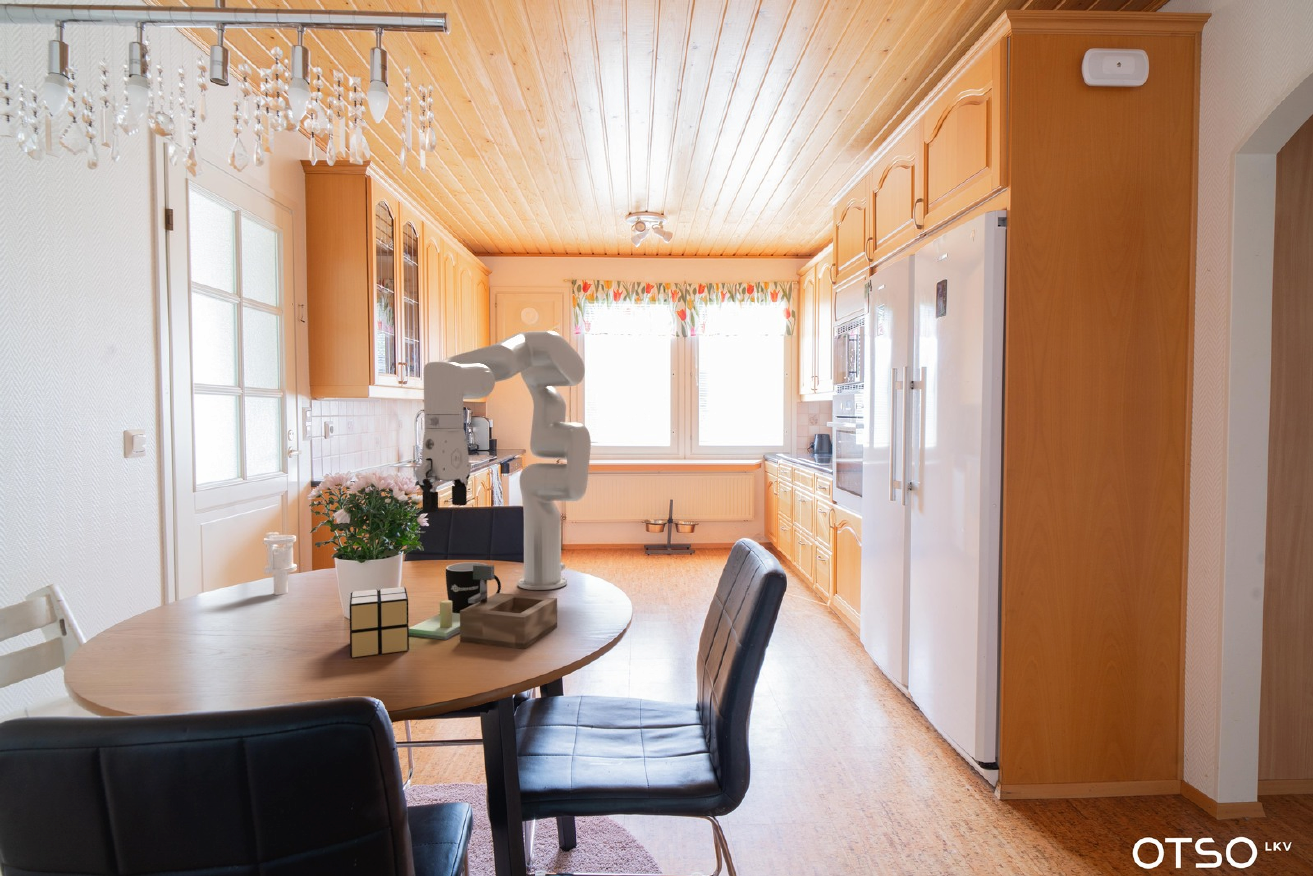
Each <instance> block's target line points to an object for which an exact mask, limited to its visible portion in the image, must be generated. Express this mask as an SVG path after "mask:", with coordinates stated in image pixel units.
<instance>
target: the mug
mask: <svg viewBox="0 0 1313 876" xmlns="http://www.w3.org/2000/svg"><path fill="white" fill-rule="evenodd" d="M475 564H483V565H487V564H486V563H482V562H474V561H472V562H471V561H470V562H467V561H466V562H458V563H457V562H456V563H453V564H450V565H447V566H446V567H445V582H446V583H445V585H446V593H447V600H450V601H452V613H459V614H460V611H461V610H463V609H465V608H467V607H469V606H471V605H473V604H475V603H468V599H469V598H471V597H473V596H475V595H477V594H479V593H480V580H477V579H473V565H475ZM493 580H495V582H496V585H497V591H496V592H495V594H496V593H501V590H502V585H501V580H500V579H499V577H498V576H497V575H495V574H494V579H493ZM478 602H480V601H478ZM478 602H476V603H478Z"/></svg>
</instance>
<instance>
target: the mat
mask: <svg viewBox="0 0 1313 876" xmlns="http://www.w3.org/2000/svg"><path fill="white" fill-rule="evenodd" d="M457 635H460V630H459V631H457V632H455V633H453V634H451V635H449V636H447V637H443V636H435V635H426V634H418V633H409V637H418V638H424V639H425V638H426V639H427V638H428V639H434V640H435V639H436V640H444V641H448V640H449V639H452V638H453V637H456V636H457Z"/></svg>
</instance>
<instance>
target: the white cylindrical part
mask: <svg viewBox="0 0 1313 876" xmlns="http://www.w3.org/2000/svg"><path fill="white" fill-rule="evenodd" d="M262 540H263V544H264V545H266V546H265V548H267V552H266V553H267V559H266V560H267V562H266V563H267V564H266V565H267V566H265V567H264V568H263V573H264V574H266V575H273V595H277V596H278V595H279V596H281V595H285V594H288V593H289V586H288V585H289V583H288V582H289V581H288V579H289V577H288V576H289V575H288V573H292V572H296V571H297V569H298V568H297V566H298V565H297V564H296V563H294V543H295V542H297V536H296V535H293V534H292V535H291V534H281V535H280V532H277V531H276V532H275V531H274V532H270V531H269V532H266V533H265V537H264V538H263V539H262ZM280 545H282V547H281V548H280Z"/></svg>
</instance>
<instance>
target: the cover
mask: <svg viewBox="0 0 1313 876" xmlns="http://www.w3.org/2000/svg"><path fill="white" fill-rule="evenodd" d="M459 630H460V614H459V613H453V612H452V601H450V600H448V599H447V600H442V601H439V614H436V615H434V616H432V617H430V618H428V619H426V620H423V621H421V622H419V623H417V624H415V625H412V626H410V627H409V633H418V634H426V635H435V636H443V637H447V636H449V635H451V634H453V633H455V632H457V631H459Z"/></svg>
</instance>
